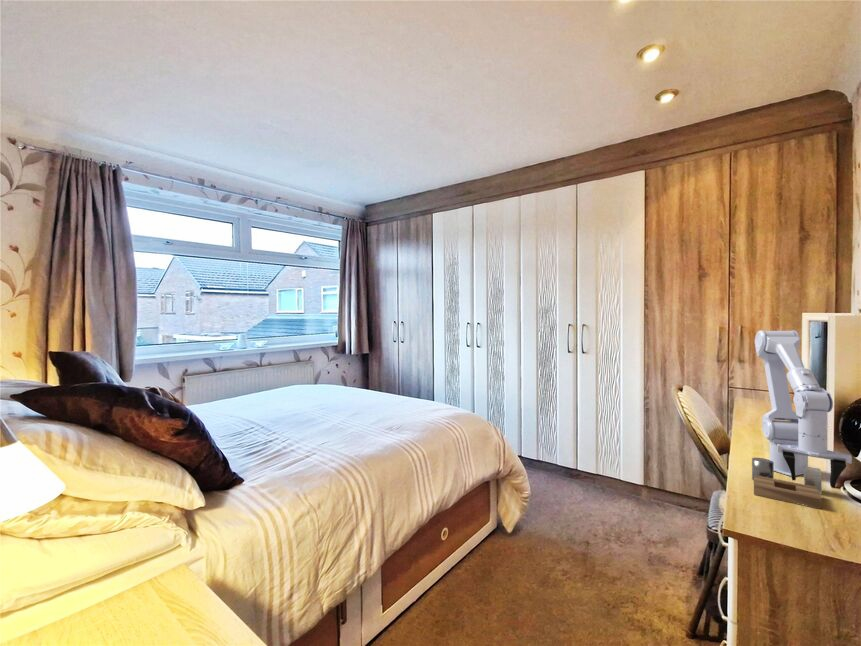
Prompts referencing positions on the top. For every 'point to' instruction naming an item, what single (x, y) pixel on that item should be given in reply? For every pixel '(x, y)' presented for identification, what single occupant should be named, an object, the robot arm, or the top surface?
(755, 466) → the round bit
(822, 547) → the top surface
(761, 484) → the bore block
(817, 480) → the square bit
